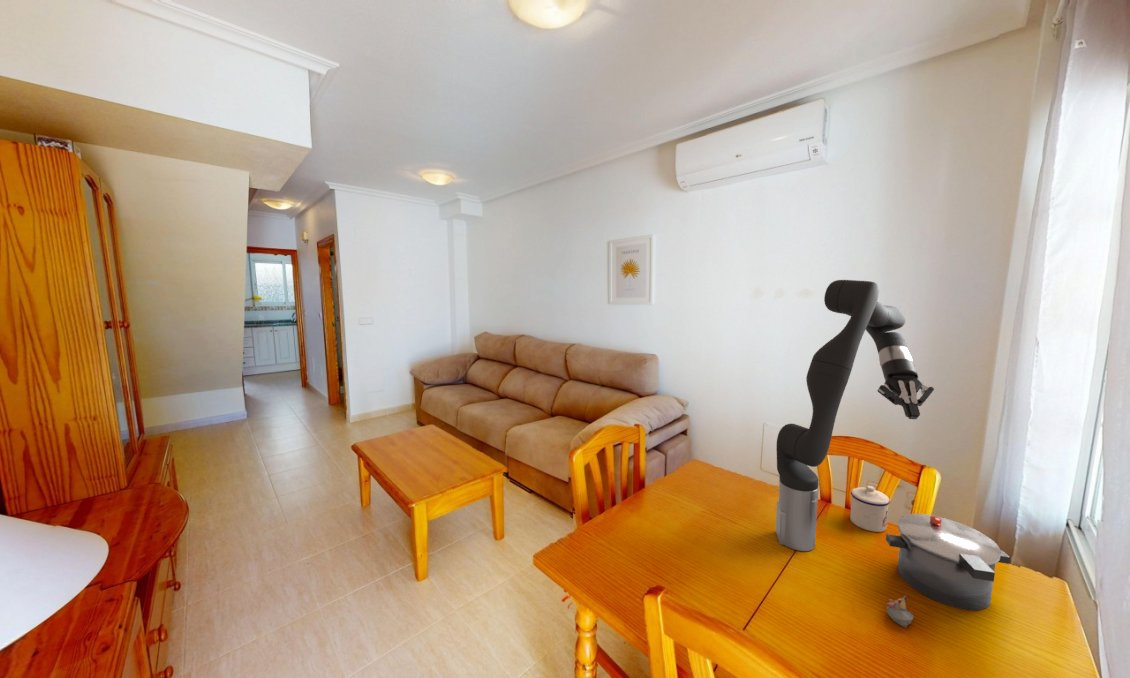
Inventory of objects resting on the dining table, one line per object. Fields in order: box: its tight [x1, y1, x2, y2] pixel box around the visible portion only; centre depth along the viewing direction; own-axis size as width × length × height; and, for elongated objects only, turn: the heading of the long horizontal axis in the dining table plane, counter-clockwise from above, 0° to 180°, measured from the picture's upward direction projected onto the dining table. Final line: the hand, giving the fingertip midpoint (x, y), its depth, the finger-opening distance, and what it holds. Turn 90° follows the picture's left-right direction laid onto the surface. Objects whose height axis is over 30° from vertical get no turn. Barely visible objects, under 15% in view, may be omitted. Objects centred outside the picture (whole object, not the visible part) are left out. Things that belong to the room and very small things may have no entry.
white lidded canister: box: [849, 485, 891, 533], centre depth 118 cm, size 12×9×12 cm
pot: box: [885, 533, 1011, 611], centre depth 94 cm, size 22×17×11 cm
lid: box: [897, 513, 1001, 583], centre depth 90 cm, size 22×17×3 cm
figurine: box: [886, 595, 915, 628], centre depth 84 cm, size 5×4×6 cm
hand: (913, 418), depth 107 cm, fingers closed
